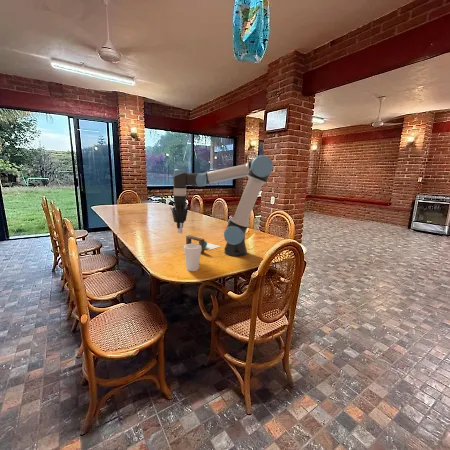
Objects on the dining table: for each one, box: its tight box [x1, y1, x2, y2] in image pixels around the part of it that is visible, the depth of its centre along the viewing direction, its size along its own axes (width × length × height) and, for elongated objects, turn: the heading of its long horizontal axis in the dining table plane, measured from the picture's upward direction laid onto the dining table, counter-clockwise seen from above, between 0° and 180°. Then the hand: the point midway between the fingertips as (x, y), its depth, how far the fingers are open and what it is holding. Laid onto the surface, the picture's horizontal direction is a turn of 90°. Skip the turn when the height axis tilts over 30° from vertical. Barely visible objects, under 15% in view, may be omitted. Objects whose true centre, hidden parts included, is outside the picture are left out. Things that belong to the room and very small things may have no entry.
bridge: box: [185, 234, 205, 254], centre depth 165 cm, size 3×14×9 cm, turn 50°
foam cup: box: [183, 243, 202, 272], centre depth 132 cm, size 10×9×13 cm
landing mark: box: [204, 242, 222, 251], centre depth 176 cm, size 12×12×1 cm
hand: (180, 233), depth 153 cm, fingers closed
